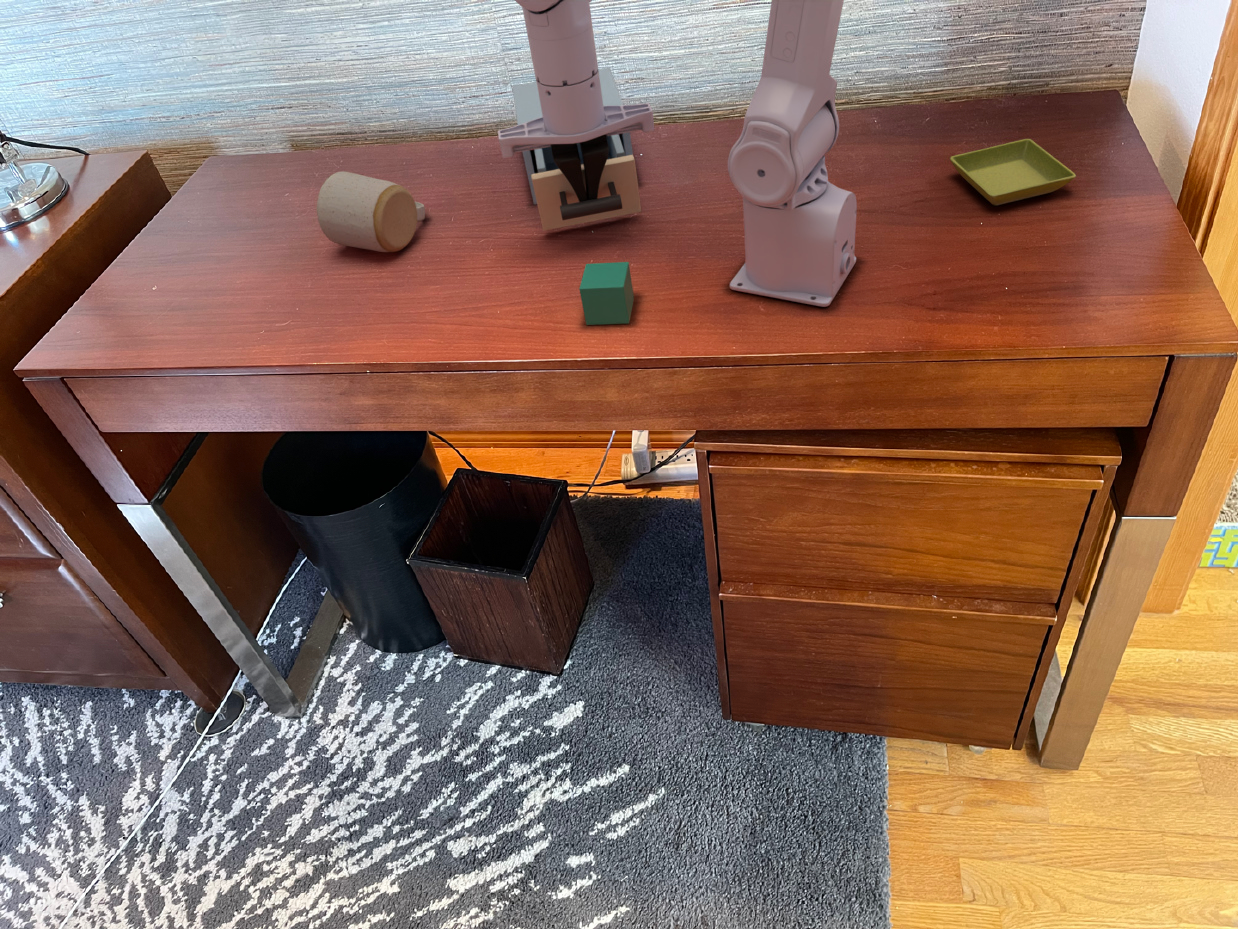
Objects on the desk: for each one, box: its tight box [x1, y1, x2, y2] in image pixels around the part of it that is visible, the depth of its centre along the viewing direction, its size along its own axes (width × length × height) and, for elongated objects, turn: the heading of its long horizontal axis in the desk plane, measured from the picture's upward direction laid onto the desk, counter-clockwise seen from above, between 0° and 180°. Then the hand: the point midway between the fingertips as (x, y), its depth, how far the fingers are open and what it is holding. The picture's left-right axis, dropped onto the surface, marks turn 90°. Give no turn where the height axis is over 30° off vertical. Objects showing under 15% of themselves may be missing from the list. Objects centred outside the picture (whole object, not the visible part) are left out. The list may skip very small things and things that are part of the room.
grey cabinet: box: [511, 67, 634, 205], centre depth 102 cm, size 15×12×8 cm
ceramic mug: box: [316, 170, 426, 253], centre depth 96 cm, size 11×8×8 cm
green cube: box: [578, 261, 635, 326], centre depth 81 cm, size 4×4×4 cm
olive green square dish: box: [949, 138, 1077, 207], centre depth 88 cm, size 9×9×2 cm
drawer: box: [531, 134, 642, 232], centre depth 94 cm, size 18×10×6 cm, turn 8°
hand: (588, 209), depth 90 cm, fingers closed, pressing on drawer
